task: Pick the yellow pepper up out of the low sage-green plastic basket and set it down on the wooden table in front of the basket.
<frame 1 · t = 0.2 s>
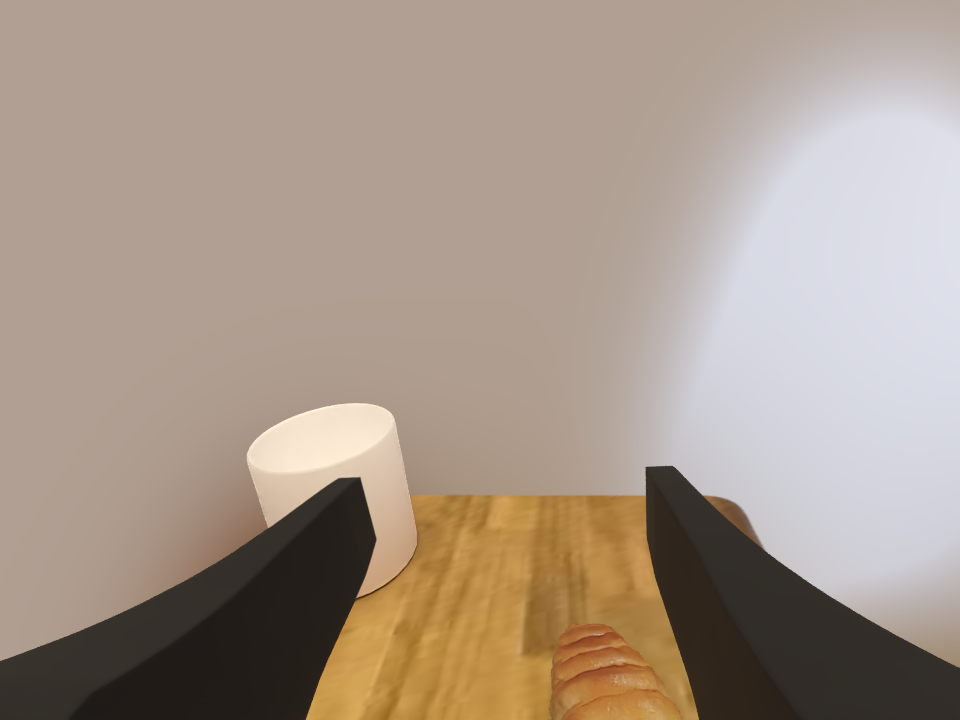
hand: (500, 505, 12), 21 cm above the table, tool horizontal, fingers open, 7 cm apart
cup: (353, 553, 43), on the table
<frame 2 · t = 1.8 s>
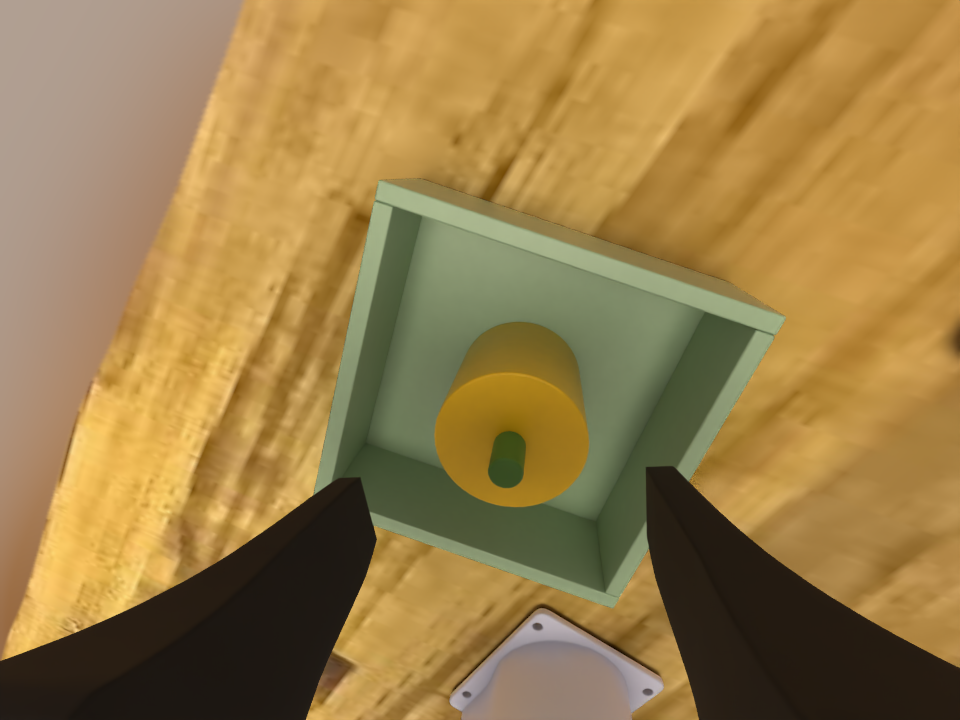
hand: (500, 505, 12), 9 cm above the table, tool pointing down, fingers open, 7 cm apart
pepper: (519, 377, 19), point 1 cm above the table, touching basket
basket: (520, 371, 20), on the table
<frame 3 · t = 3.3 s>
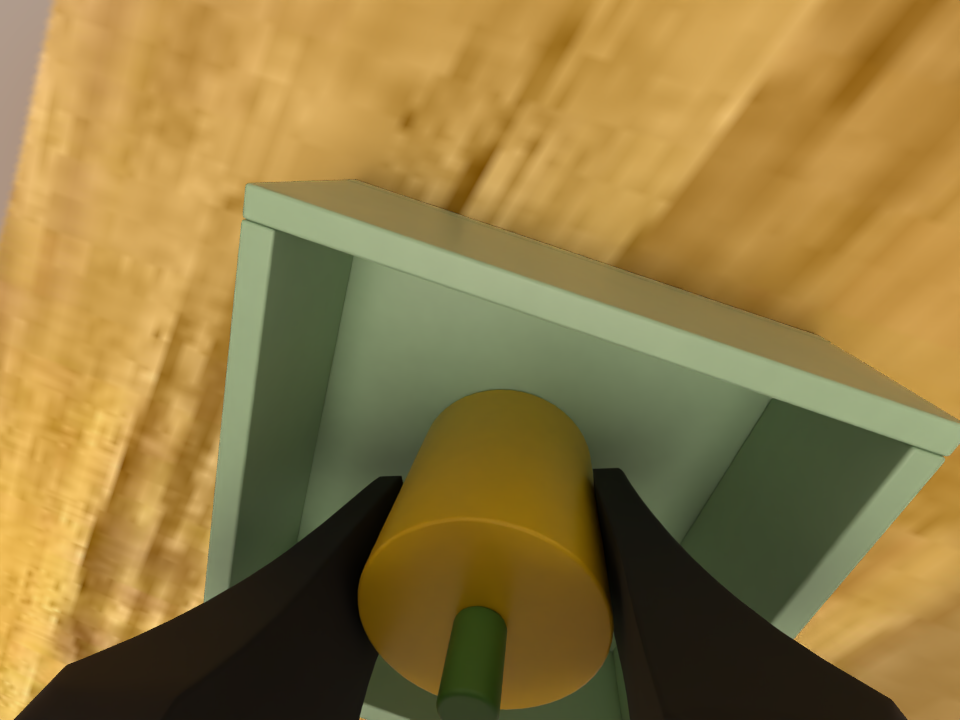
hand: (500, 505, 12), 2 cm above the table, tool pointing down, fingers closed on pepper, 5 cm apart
pepper: (505, 464, 14), point 1 cm above the table, touching basket, gripper
basket: (508, 453, 14), on the table
when the fingers open (2 cm above the table, at t = 7.9 s): pepper stays where it is, on the table.
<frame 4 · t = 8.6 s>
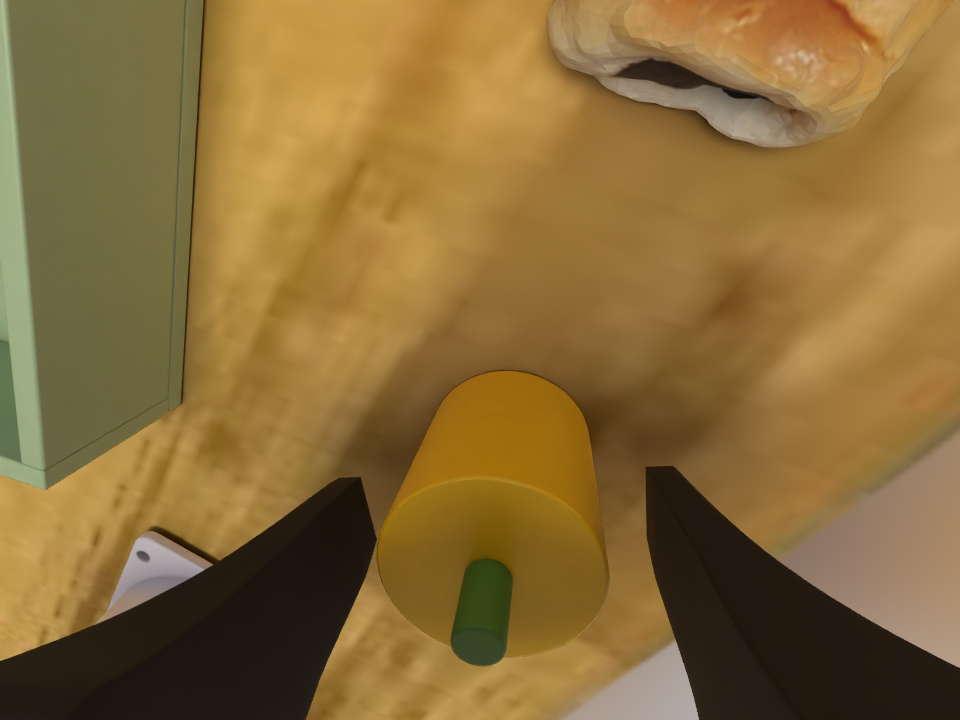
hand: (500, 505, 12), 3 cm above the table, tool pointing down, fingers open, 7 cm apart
pepper: (509, 442, 14), on the table
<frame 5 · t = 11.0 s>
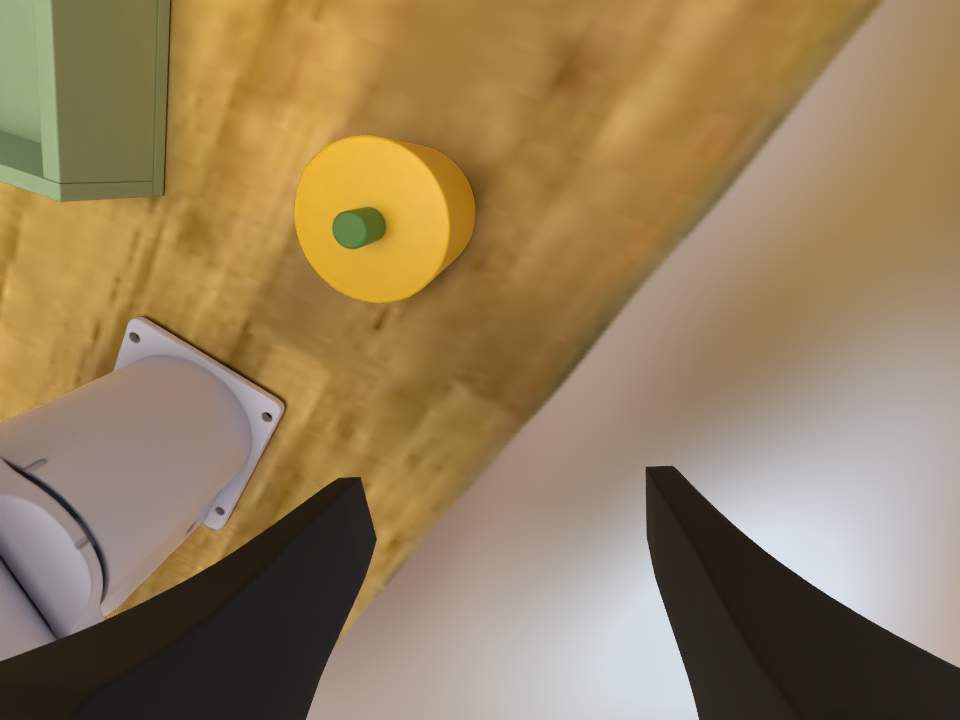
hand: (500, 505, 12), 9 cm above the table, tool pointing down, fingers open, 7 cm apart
pepper: (416, 211, 19), on the table
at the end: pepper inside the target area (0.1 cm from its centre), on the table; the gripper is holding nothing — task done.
